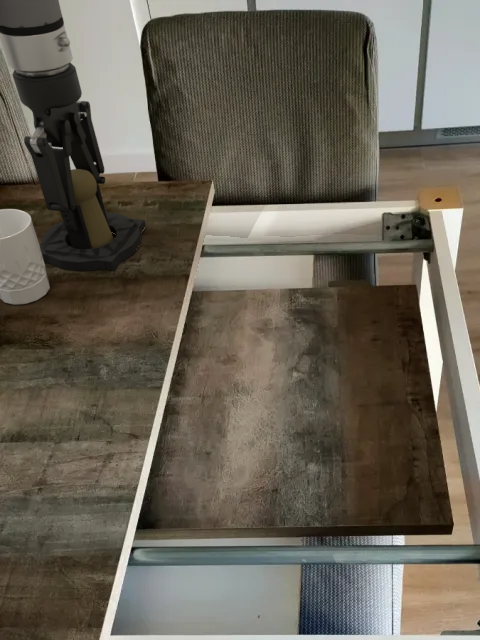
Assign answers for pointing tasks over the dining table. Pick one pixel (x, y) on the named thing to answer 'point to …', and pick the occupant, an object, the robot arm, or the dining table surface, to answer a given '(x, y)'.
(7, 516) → the dining table surface
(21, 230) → the white cup
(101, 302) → the dining table surface
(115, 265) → the base pad
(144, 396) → the dining table surface
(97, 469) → the dining table surface
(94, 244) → the olive pawn
